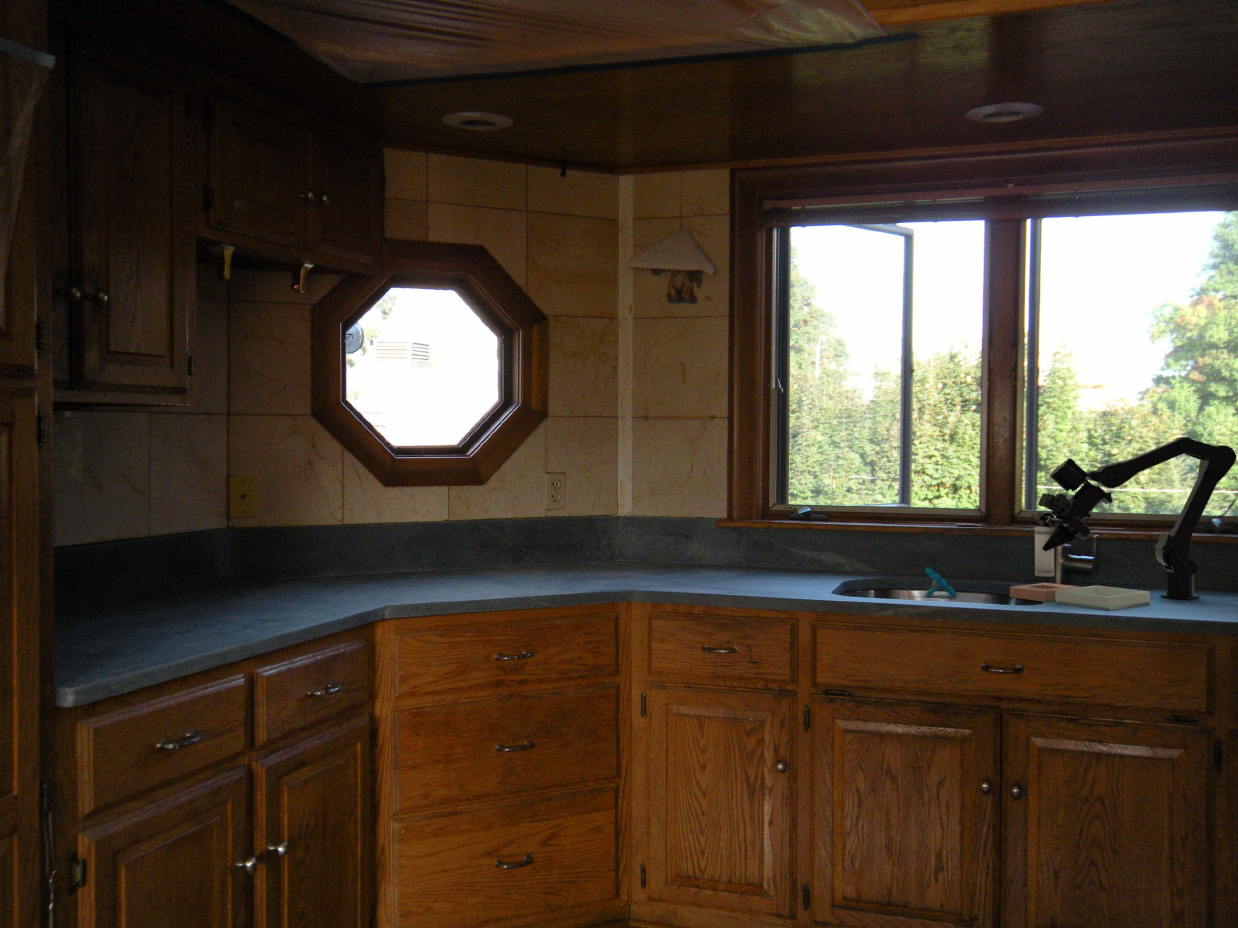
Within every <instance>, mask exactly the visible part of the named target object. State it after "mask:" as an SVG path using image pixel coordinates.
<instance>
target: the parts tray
mask: <svg viewBox="0 0 1238 928" xmlns="http://www.w3.org/2000/svg"><path fill="white" fill-rule="evenodd" d="M1054 601H1055V604H1059V605H1065V604H1067V606H1072V605H1075V606H1074V607H1080V606H1082V607H1081V608H1087V607H1089V608H1088V609H1094V608H1095V610H1102V609H1106V610H1105V611H1109V610H1110V611H1114V609H1116V610H1122V609H1128V608H1135V607H1142V606H1148V605H1151V591H1145V590H1138V589H1130V588H1121V587H1113V586H1112V587H1111V586H1103V585H1091V586H1090V585H1089V586H1083V587H1081V586H1080V588H1073V589H1065V590H1057V591H1055V600H1054Z"/></svg>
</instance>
